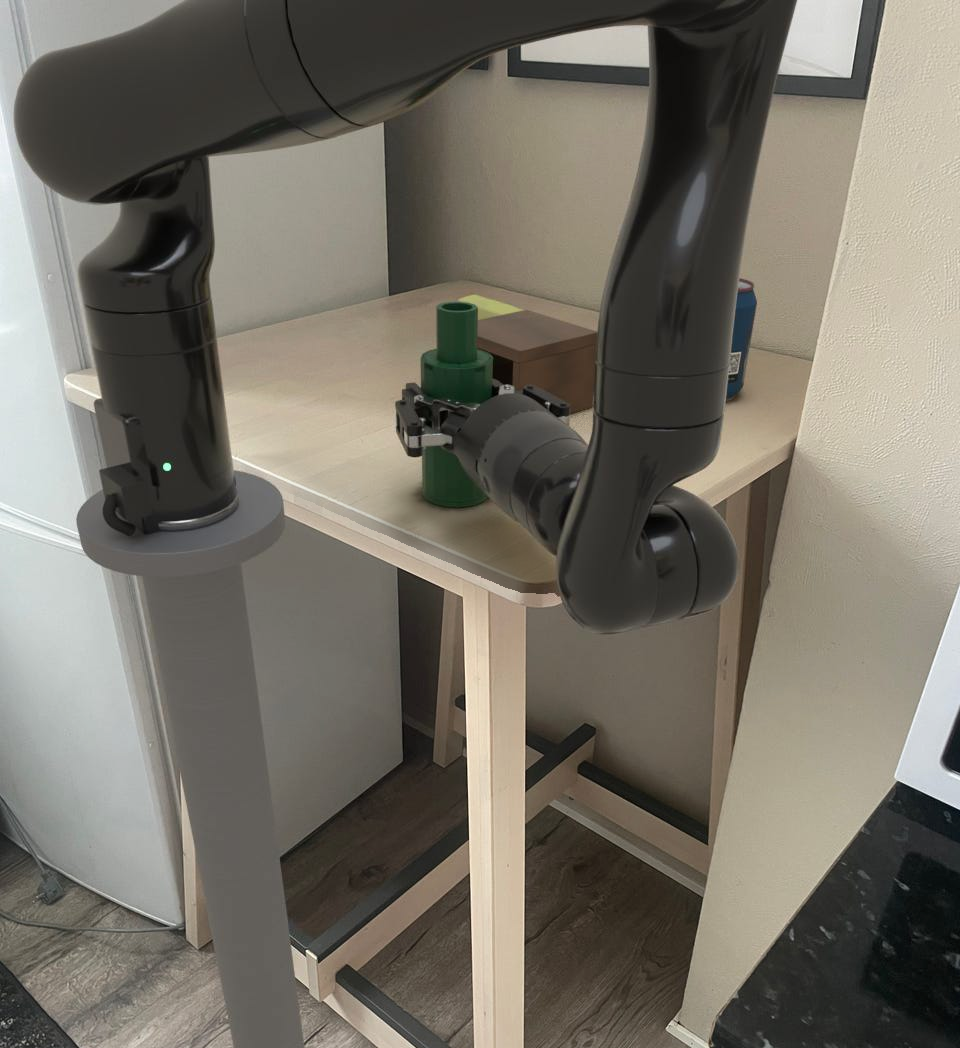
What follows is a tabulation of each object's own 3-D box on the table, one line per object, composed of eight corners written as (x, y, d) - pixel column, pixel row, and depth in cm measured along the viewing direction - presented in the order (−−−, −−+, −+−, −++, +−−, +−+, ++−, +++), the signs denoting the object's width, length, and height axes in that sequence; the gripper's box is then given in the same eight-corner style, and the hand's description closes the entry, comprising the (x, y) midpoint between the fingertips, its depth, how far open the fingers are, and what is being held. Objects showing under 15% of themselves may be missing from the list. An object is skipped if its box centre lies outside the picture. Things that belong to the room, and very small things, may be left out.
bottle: (451, 513, 83) (451, 320, 74) (409, 491, 86) (405, 304, 78) (502, 495, 86) (508, 308, 77) (460, 474, 89) (462, 294, 81)
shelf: (517, 430, 99) (520, 351, 95) (448, 400, 106) (448, 326, 102) (593, 407, 105) (599, 331, 101) (523, 381, 112) (526, 309, 108)
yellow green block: (484, 301, 113) (448, 282, 130) (472, 350, 115) (438, 325, 132) (591, 328, 117) (542, 306, 135) (578, 374, 119) (532, 347, 137)
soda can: (667, 386, 111) (681, 276, 105) (721, 381, 113) (738, 273, 107) (697, 407, 106) (713, 292, 99) (753, 401, 108) (773, 288, 101)
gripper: (621, 400, 71) (524, 337, 84) (434, 424, 66) (361, 354, 79) (612, 496, 75) (520, 421, 88) (435, 525, 70) (366, 442, 83)
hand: (445, 390), depth 83 cm, fingers closed on bottle, 6 cm apart
